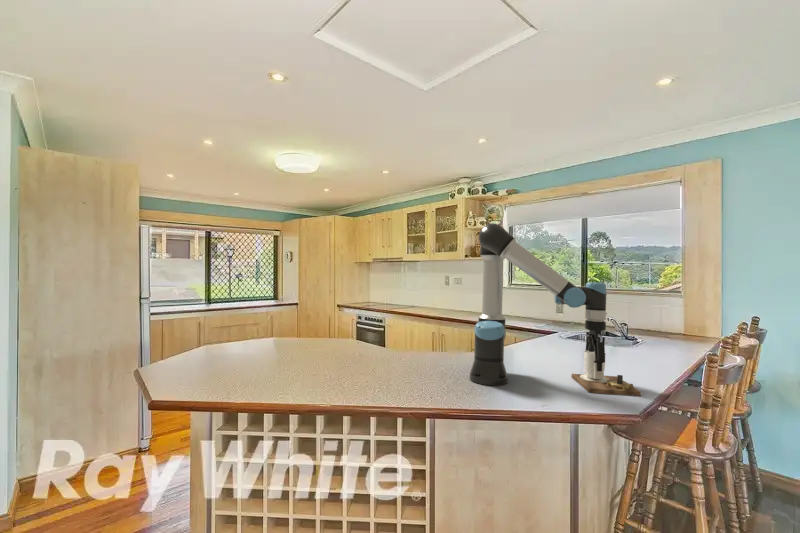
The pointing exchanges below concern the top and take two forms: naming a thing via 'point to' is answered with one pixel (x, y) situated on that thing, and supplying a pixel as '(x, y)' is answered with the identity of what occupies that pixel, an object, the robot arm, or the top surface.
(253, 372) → the top surface
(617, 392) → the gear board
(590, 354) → the white cup
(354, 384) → the top surface
